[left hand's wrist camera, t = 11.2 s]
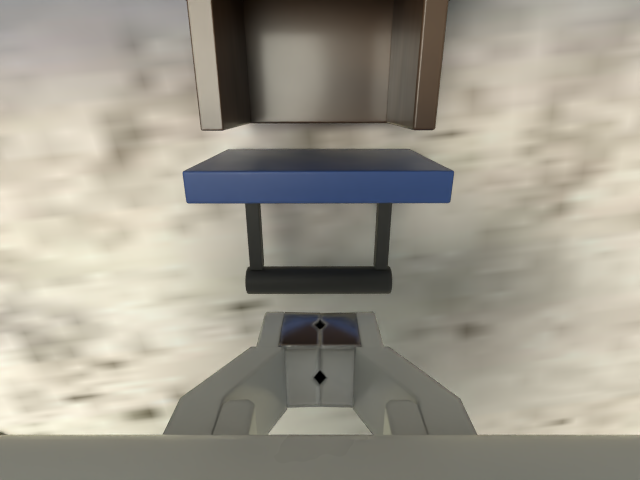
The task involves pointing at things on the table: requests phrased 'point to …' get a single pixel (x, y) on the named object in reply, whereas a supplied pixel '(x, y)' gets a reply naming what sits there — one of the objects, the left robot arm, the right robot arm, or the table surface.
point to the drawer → (318, 116)
